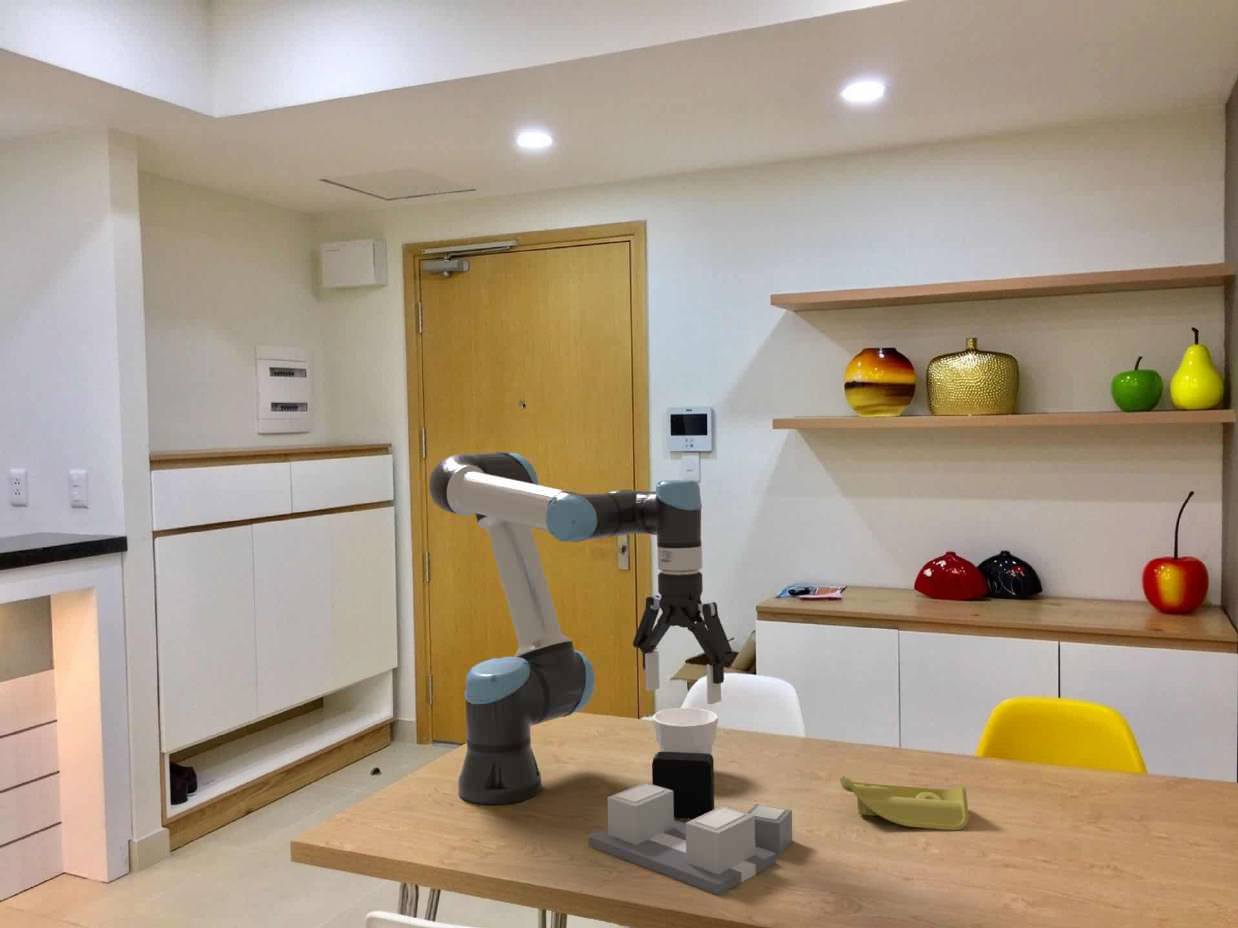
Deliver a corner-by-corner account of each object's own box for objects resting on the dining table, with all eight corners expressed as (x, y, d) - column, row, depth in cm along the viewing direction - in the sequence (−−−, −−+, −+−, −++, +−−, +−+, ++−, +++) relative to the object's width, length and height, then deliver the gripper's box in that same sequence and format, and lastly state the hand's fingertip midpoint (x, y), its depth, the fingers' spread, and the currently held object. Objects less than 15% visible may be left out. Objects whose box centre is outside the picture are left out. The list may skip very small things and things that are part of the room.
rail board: (588, 845, 160) (587, 797, 159) (647, 819, 170) (646, 774, 170) (719, 894, 142) (718, 840, 142) (776, 862, 152) (775, 812, 152)
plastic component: (951, 790, 175) (967, 783, 166) (953, 835, 172) (970, 831, 163) (835, 781, 176) (845, 774, 167) (836, 826, 173) (846, 821, 164)
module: (743, 848, 158) (742, 815, 158) (756, 834, 163) (756, 802, 163) (779, 855, 155) (779, 821, 155) (792, 840, 160) (791, 808, 160)
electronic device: (711, 820, 169) (710, 761, 169) (652, 816, 171) (651, 758, 171) (714, 811, 173) (713, 753, 173) (656, 807, 175) (655, 750, 175)
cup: (730, 769, 194) (729, 712, 194) (699, 789, 184) (698, 729, 183) (673, 759, 201) (672, 704, 200) (641, 777, 190) (640, 719, 190)
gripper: (611, 568, 177) (614, 688, 177) (725, 579, 159) (728, 712, 160) (640, 563, 182) (642, 680, 183) (753, 574, 165) (755, 703, 165)
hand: (682, 695), depth 171 cm, fingers open, 13 cm apart
